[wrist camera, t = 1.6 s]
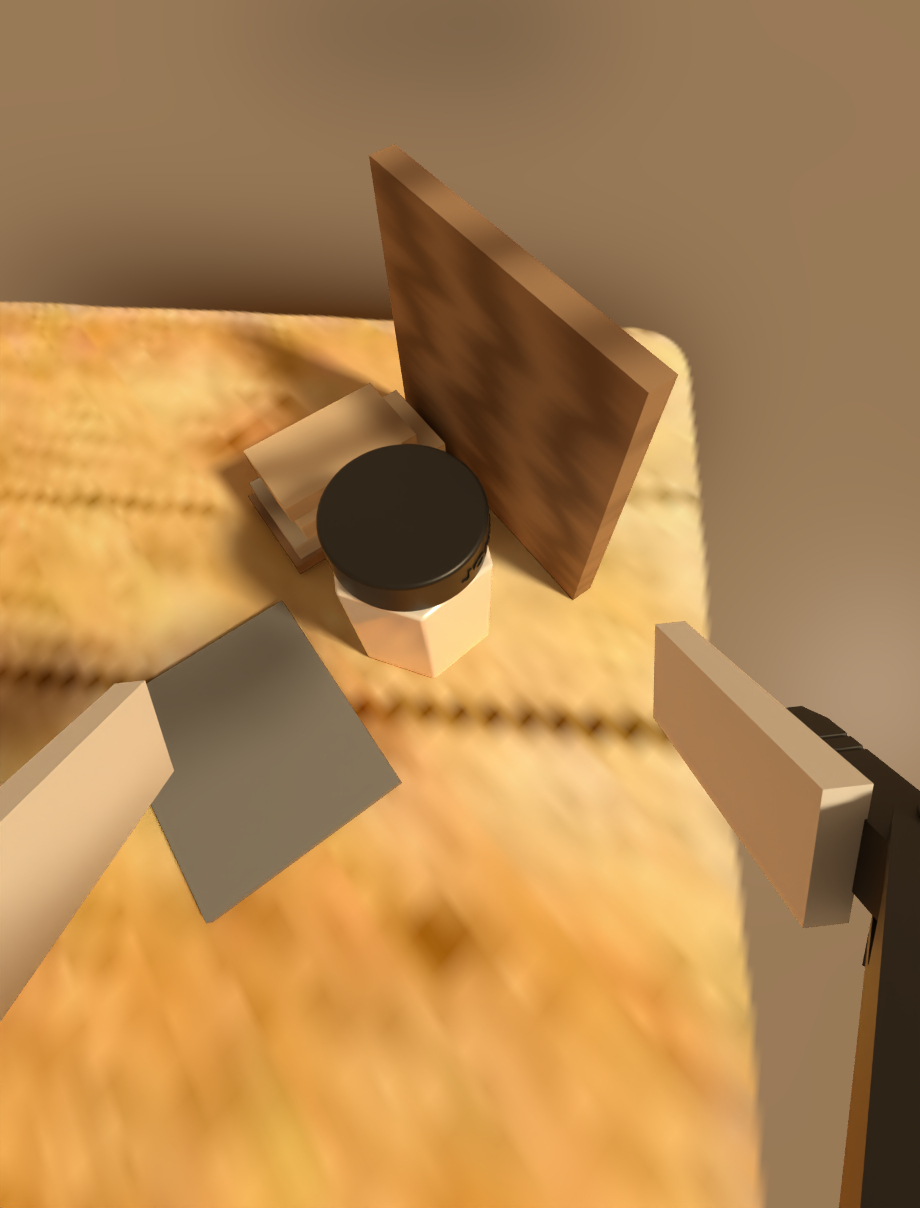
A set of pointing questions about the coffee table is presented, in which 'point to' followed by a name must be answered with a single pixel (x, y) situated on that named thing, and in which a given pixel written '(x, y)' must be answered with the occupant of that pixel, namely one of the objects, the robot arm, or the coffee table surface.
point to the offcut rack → (482, 387)
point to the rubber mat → (258, 759)
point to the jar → (410, 554)
